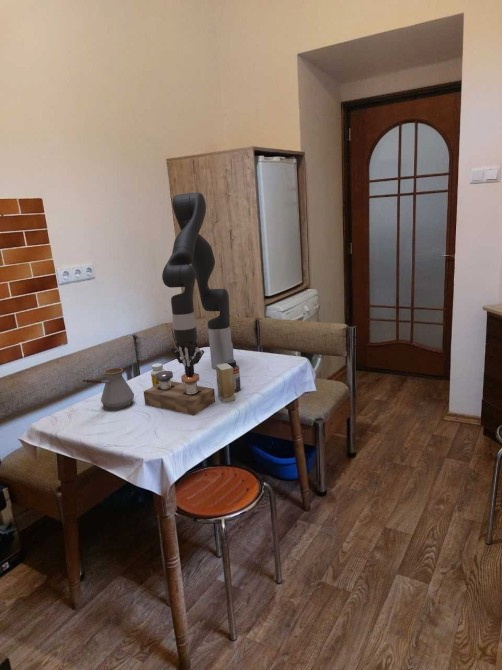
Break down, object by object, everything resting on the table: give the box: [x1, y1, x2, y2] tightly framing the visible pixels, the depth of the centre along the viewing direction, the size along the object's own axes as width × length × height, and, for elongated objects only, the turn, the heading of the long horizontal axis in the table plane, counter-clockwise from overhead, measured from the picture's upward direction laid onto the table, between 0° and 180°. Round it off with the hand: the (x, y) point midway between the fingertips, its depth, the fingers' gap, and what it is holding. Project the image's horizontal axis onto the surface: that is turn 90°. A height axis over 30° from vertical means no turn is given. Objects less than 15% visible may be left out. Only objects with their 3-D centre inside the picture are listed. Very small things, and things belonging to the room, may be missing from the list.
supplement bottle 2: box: [225, 358, 242, 393], centre depth 174 cm, size 6×6×11 cm
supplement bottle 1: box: [150, 362, 166, 387], centre depth 181 cm, size 5×5×10 cm
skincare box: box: [215, 363, 236, 403], centre depth 166 cm, size 6×4×12 cm
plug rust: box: [180, 372, 200, 396], centre depth 161 cm, size 6×6×10 cm
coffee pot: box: [79, 367, 135, 410], centre depth 163 cm, size 21×12×15 cm, turn 158°
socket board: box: [142, 380, 216, 416], centre depth 166 cm, size 12×22×5 cm, turn 57°
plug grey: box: [155, 370, 174, 391], centre depth 168 cm, size 6×6×10 cm
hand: (190, 375), depth 160 cm, fingers closed
